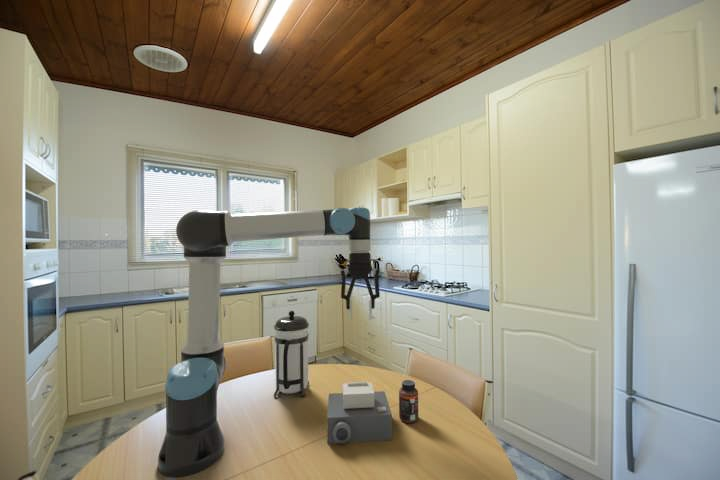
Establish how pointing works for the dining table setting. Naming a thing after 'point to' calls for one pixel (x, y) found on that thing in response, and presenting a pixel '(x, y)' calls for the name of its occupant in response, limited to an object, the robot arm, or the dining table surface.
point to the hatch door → (358, 395)
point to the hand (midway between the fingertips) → (360, 318)
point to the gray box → (358, 420)
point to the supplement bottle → (408, 402)
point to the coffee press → (291, 354)
